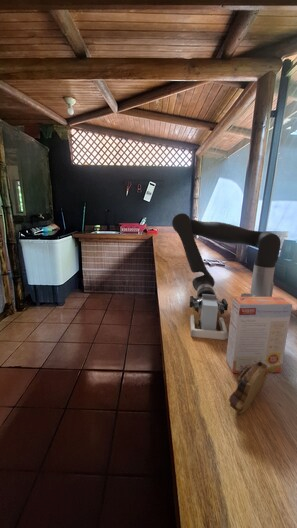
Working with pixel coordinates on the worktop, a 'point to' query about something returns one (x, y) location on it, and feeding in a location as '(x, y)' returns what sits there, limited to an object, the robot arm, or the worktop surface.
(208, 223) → the robot arm
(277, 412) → the worktop surface
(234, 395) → the wooden carving
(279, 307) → the cracker box
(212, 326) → the grey tall block
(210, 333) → the bay
